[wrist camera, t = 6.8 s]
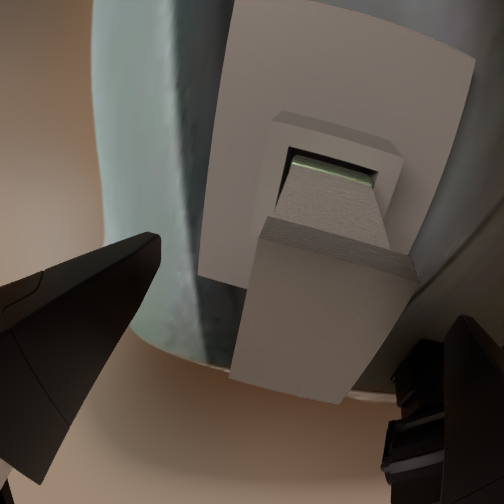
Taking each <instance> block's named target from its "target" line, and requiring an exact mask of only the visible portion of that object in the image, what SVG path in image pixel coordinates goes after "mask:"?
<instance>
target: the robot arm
mask: <svg viewBox="0 0 504 504" xmlns="http://www.w3.org/2000/svg"><path fill="white" fill-rule="evenodd" d="M160 263H161V237H160V236H159V235H158V234H155V233H151V232H144V233H141V234H138V235H135V236H133V237H130V238H127V239H124V240H121V241H119V242H116V243H113V244H110V245H108V246H105V247H102V248H100V249H97V250H94V251H92V252H89V253H86V254H84V255H81V256H78V257H76V258H73V259H70V260H68V261H65V262H63V263H60V264H58V265H55V266H53V267H50V268H48V269H45V271H40V272H38V273H35V274H33V275H30V276H28V277H25V278H23V279H20V280H18V281H15V282H12V283H9V284H6V285H3V286H1V287H0V504H14V501H13V497H12V494H11V490H10V487H9V483H8V479H7V477H8V475H9V473H10V472H11V470H12V468H15V469H16V470H17V471H19V472H20V473H22V474H23V475H25V476H26V477H28V478H29V479H31V480H32V481H34V482H35V483H37V484H38V485H41V483H42V482H43V480H44V478H45V475H46V474H47V472H48V469H49V467H50V465H51V463H52V461H53V459H54V457H55V455H56V453H57V451H58V450H59V448H60V446H61V443H62V441H63V440H64V438H65V436H66V434H67V432H68V430H69V428H70V427H69V426H71V424H72V422H73V420H74V419H75V417H76V415H77V413H78V411H79V409H80V407H81V405H82V404H83V402H84V400H85V399H86V397H87V395H88V393H89V391H90V390H91V388H92V386H93V384H94V383H95V381H96V379H97V377H98V375H99V374H100V372H101V370H102V368H103V367H104V365H105V364H106V362H107V360H108V358H109V357H110V355H111V353H112V352H113V350H114V348H115V347H116V345H117V343H118V342H119V340H120V338H121V336H122V335H123V333H124V332H125V330H126V329H127V327H128V325H129V324H130V322H131V320H132V319H133V317H134V316H135V314H136V312H137V311H138V309H139V307H140V305H141V303H142V301H143V299H144V297H145V295H146V293H147V291H148V289H149V287H150V285H151V283H152V280H153V278H154V276H155V274H156V272H157V270H158V268H159V266H160ZM391 383H392V384H396V398H397V406H398V407H399V408H401V416H402V419H399V420H396V421H395V420H392V421H389V424H388V429H387V434H386V440H385V447H384V453H383V459H382V464H381V471H382V472H384V473H385V477H386V480H387V482H388V484H389V485H390V486H391V504H504V352H503V351H502V349H501V348H500V347H499V346H498V345H497V344H496V343H495V342H494V340H493V339H492V338H491V337H490V336H489V335H488V334H487V333H486V332H485V330H484V329H483V328H482V327H481V326H480V325H479V324H478V323H477V322H476V321H475V320H474V319H473V318H472V317H471V316H467V315H460V316H458V317H457V319H456V320H455V322H454V323H453V325H452V326H451V327H450V329H449V330H448V332H447V333H446V336H445V340H444V343H439V342H434V341H429V340H424V339H423V340H420V341H419V342H418V343H417V344H416V346H415V347H414V348H413V350H412V351H411V352H410V354H409V355H408V356H407V357H406V358H405V360H404V361H403V362H402V364H401V365H400V366H399V368H398V369H397V370H396V371H395V373H394V374H393V376H392V377H391Z"/></svg>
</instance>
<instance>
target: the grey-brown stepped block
mask: <svg viewBox="0 0 504 504" xmlns="http://www.w3.org/2000/svg"><path fill="white" fill-rule="evenodd" d="M372 185H373V184H372V182H371V179H370V177H368V175H367V174H364V173H361V172H357V171H354V170H351V169H347V168H344V167H340V166H337V165H333V164H330V163H326V162H323V161H319V160H315V159H312V158H308V157H304V156H300V155H296V156H294V157H293V160H292V163H291V167H290V171H289V174H288V176H287V179H286V182H285V184H284V187H283V189H282V192H281V195H280V197H279V200H278V202H277V205H276V208H275V210H274V213H273V215H272V217H270V216H267V219H266V221H265V223H264V226H263V228H262V231H261V233H260V235H259V238H258V243H257V247H256V252H255V257H254V261H253V266H252V271H251V276H250V280H249V285H248V290H247V294H246V299H245V304H244V309H243V313H242V318H241V323H240V327H239V332H238V337H237V341H236V346H235V351H234V355H233V360H232V365H231V369H230V374H229V378H230V379H234V380H237V381H241V382H244V383H248V384H251V385H255V386H259V387H263V388H267V389H270V390H274V391H278V392H282V393H287V394H291V395H295V396H299V397H304V398H308V399H313V400H318V401H323V402H328V403H333V404H340V402H341V401H342V400H343V399H344V397H345V396H346V395H347V393H348V392H349V391H350V389H351V388H352V387H353V385H354V384H355V383H356V381H357V380H358V378H359V377H360V376H361V374H362V373H363V371H364V370H365V369H366V367H367V366H368V364H369V363H370V362H371V360H372V359H373V357H374V356H375V354H376V353H377V351H378V350H379V348H380V347H381V345H382V344H383V342H384V341H385V339H386V338H387V336H388V334H389V333H390V331H391V330H392V328H393V327H394V325H395V323H396V322H397V320H398V319H399V317H400V315H401V314H402V312H403V310H404V309H405V307H406V305H407V303H408V302H409V300H410V298H411V297H412V295H413V293H414V291H415V290H416V288H417V286H418V284H419V282H420V281H419V278H418V275H417V272H416V269H415V266H414V263H413V260H412V257H411V256H408V255H405V254H402V253H398V252H395V251H392V250H391V249H390V245H389V241H388V238H387V234H386V231H385V227H384V224H383V221H382V217H381V214H380V211H379V208H378V205H377V201H376V198H375V195H374V192H373V189H372Z"/></svg>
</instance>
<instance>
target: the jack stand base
mask: <svg viewBox="0 0 504 504" xmlns="http://www.w3.org/2000/svg"><path fill="white" fill-rule="evenodd" d="M475 61H476V59H474V58H472V57H470V56H468V55H467V54H465V53H463V52H461V51H459V50H456V49H454V48H452V47H450V46H448V45H446V44H444V43H442V42H439V41H437V40H435V39H432V38H430V37H428V36H425V35H423V34H420V33H418V32H415V31H413V30H410V29H408V28H405V27H402V26H400V25H397V24H394V23H391V22H388V21H385V20H382V19H379V18H376V17H373V16H369V15H366V14H362V13H359V12H355V11H352V10H348V9H344V8H340V7H336V6H332V5H327V4H323V3H318V2H313V1H308V0H235V3H234V8H233V14H232V19H231V24H230V30H229V35H228V41H227V46H226V52H225V58H224V64H223V70H222V76H221V82H220V89H219V95H218V102H217V109H216V115H215V122H214V130H213V137H212V145H211V152H210V160H209V168H208V176H207V185H206V194H205V203H204V212H203V222H202V232H201V242H200V253H199V265H198V275H200V276H203V277H206V278H210V279H213V280H217V281H220V282H224V283H227V284H231V285H234V286H238V287H241V288H245V289H248V285H249V280H250V276H251V271H252V266H253V261H254V257H255V252H256V247H257V243H258V238H259V235H260V233H261V231H262V228H263V226H264V223H265V221H266V219H267V216H270V217H272V215H273V213H274V210H275V208H276V205H277V202H278V200H279V197H280V195H281V192H282V189H283V187H284V184H285V182H286V179H287V176H288V174H289V171H290V167H291V163H292V160H293V157H294V156H296V155H300V156H304V157H308V158H312V159H315V160H319V161H323V162H326V163H330V164H333V165H337V166H340V167H344V168H347V169H351V170H354V171H357V172H361V173H364V174H367V175H368V177H370V179H371V182H372V184H373V185H372V189H373V192H374V195H375V198H376V201H377V205H378V208H379V211H380V214H381V217H382V221H383V224H384V227H385V231H386V234H387V238H388V241H389V245H390V249H391V250H392V251H395V252H398V253H402V254H405V255H408V254H409V252H410V249H411V247H412V245H413V243H414V241H415V239H416V236H417V234H418V232H419V230H420V228H421V225H422V223H423V221H424V218H425V216H426V214H427V211H428V209H429V206H430V204H431V202H432V199H433V197H434V194H435V192H436V189H437V187H438V184H439V181H440V179H441V176H442V173H443V171H444V168H445V165H446V162H447V159H448V157H449V154H450V151H451V148H452V145H453V142H454V139H455V136H456V132H457V129H458V126H459V123H460V119H461V116H462V112H463V109H464V105H465V102H466V98H467V94H468V90H469V86H470V82H471V78H472V74H473V70H474V65H475Z"/></svg>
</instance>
